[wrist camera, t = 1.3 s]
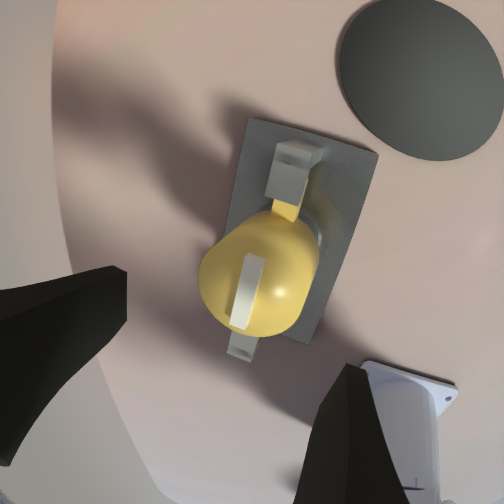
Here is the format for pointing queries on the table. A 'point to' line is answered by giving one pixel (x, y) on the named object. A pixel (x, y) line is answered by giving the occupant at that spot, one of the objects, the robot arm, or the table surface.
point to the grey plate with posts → (312, 207)
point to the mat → (422, 78)
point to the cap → (261, 272)
